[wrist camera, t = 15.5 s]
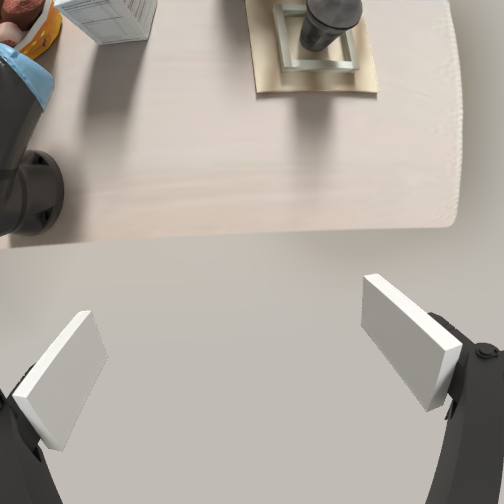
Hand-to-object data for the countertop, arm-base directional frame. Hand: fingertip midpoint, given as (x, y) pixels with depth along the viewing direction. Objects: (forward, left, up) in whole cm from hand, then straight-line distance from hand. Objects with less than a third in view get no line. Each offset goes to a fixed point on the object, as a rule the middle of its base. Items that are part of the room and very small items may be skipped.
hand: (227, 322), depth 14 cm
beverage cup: (+15, +28, -33) cm, 46 cm away
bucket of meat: (-34, +42, -34) cm, 64 cm away
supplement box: (-14, +37, -34) cm, 52 cm away
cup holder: (+16, +28, -34) cm, 46 cm away
